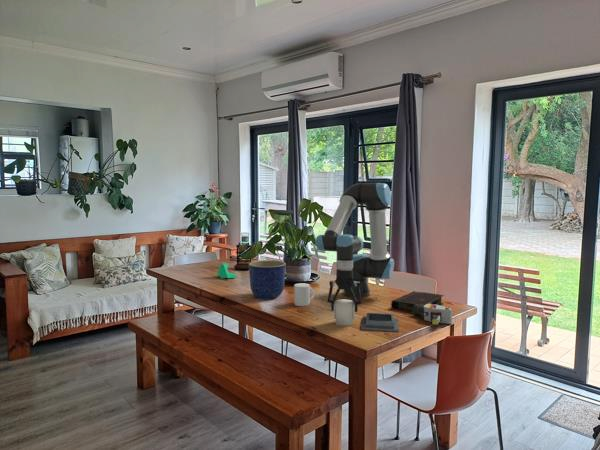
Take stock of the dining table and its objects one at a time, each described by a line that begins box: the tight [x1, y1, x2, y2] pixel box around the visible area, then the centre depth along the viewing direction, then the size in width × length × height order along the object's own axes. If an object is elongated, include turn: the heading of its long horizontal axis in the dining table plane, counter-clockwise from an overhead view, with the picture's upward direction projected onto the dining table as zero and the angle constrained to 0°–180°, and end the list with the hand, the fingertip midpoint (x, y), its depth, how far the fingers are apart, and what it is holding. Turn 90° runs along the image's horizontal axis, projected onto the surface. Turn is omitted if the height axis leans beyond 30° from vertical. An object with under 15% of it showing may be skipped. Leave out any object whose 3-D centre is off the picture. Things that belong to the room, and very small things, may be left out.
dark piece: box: [233, 242, 252, 271], centre depth 325 cm, size 15×15×20 cm
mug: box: [293, 282, 316, 307], centre depth 232 cm, size 8×10×12 cm
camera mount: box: [216, 262, 237, 279], centre depth 296 cm, size 12×8×10 cm, turn 45°
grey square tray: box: [360, 312, 400, 333], centre depth 197 cm, size 16×16×4 cm
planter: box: [248, 259, 287, 300], centre depth 245 cm, size 21×21×19 cm
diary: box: [390, 290, 445, 314], centre depth 227 cm, size 19×25×5 cm
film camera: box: [412, 304, 453, 325], centre depth 202 cm, size 7×19×15 cm
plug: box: [335, 298, 354, 327], centre depth 199 cm, size 8×8×10 cm
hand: (344, 318), depth 200 cm, fingers closed on plug, 8 cm apart
